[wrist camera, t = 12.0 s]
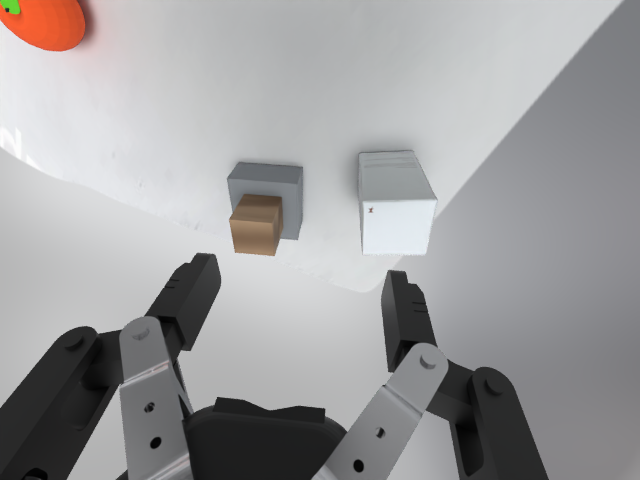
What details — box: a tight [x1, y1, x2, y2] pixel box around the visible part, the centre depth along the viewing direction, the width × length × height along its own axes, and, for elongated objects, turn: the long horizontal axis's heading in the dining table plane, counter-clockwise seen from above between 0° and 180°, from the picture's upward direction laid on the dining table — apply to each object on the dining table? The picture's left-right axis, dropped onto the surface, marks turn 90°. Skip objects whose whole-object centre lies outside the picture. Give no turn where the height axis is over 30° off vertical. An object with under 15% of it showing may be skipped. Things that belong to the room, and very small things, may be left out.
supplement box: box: [358, 151, 438, 255], centre depth 35 cm, size 7×7×13 cm
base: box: [227, 162, 303, 240], centre depth 41 cm, size 9×9×5 cm
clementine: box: [0, 0, 85, 51], centre depth 28 cm, size 8×7×7 cm
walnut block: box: [229, 194, 283, 256], centre depth 37 cm, size 5×5×6 cm
